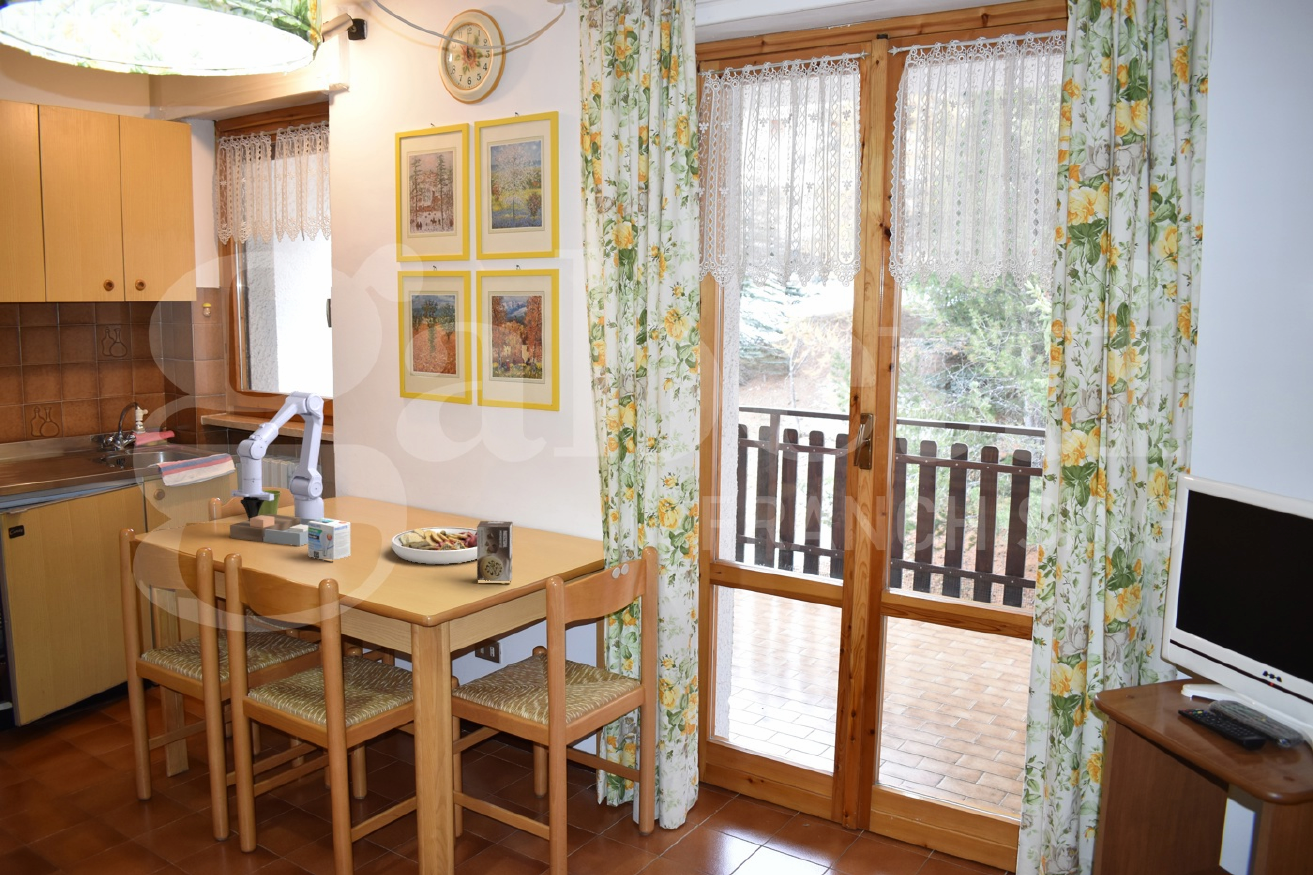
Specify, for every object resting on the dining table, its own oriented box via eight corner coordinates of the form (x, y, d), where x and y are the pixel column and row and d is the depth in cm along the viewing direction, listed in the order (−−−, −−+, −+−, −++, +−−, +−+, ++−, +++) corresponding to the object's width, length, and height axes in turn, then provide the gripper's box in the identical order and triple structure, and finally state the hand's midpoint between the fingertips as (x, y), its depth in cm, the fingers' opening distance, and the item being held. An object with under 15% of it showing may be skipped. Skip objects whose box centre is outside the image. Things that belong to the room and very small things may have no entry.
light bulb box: (307, 557, 275) (306, 521, 273) (325, 552, 281) (324, 517, 279) (334, 563, 270) (333, 526, 268) (351, 558, 276) (351, 522, 274)
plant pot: (253, 514, 326) (253, 489, 324) (282, 513, 328) (282, 489, 327) (250, 520, 317) (250, 495, 316) (280, 519, 320) (280, 494, 318)
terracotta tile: (261, 522, 297) (261, 515, 297) (274, 524, 296) (274, 516, 295) (249, 526, 293) (249, 518, 292) (263, 527, 291) (263, 519, 291)
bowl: (391, 569, 267) (391, 542, 265) (392, 543, 295) (391, 519, 294) (498, 566, 274) (498, 539, 273) (489, 540, 303) (489, 516, 302)
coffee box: (512, 578, 262) (513, 521, 259) (509, 584, 255) (510, 526, 253) (479, 577, 261) (480, 520, 259) (476, 584, 255) (476, 525, 253)
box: (301, 529, 307) (301, 517, 307) (336, 533, 303) (336, 521, 303) (263, 541, 290) (263, 529, 289) (299, 546, 286) (299, 533, 286)
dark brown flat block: (269, 525, 311) (269, 513, 310) (300, 529, 307) (300, 517, 307) (230, 537, 293) (229, 525, 293) (262, 541, 290) (262, 529, 290)
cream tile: (313, 525, 301) (313, 533, 301) (300, 524, 302) (300, 531, 302) (303, 529, 296) (303, 536, 296) (289, 527, 297) (289, 535, 298)
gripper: (223, 478, 292) (224, 521, 293) (262, 482, 287) (263, 526, 289) (239, 474, 298) (240, 516, 300) (278, 478, 294) (278, 521, 296)
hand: (252, 521), depth 295 cm, fingers closed
